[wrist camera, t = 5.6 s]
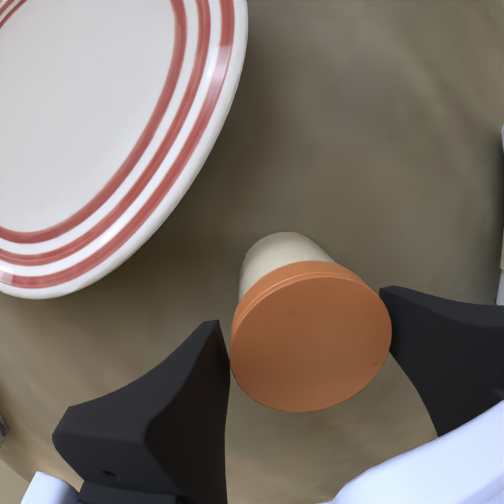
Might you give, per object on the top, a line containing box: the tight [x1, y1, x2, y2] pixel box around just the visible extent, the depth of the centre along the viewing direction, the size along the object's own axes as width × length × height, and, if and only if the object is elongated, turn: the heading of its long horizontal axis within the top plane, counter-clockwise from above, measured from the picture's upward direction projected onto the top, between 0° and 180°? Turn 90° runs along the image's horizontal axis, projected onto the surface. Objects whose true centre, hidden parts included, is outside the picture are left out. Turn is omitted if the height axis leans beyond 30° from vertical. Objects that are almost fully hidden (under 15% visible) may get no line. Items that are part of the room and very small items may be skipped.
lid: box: [230, 260, 392, 412], centre depth 10 cm, size 6×6×2 cm
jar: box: [238, 232, 337, 304], centre depth 13 cm, size 5×5×7 cm
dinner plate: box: [0, 0, 248, 299], centre depth 11 cm, size 27×27×3 cm
